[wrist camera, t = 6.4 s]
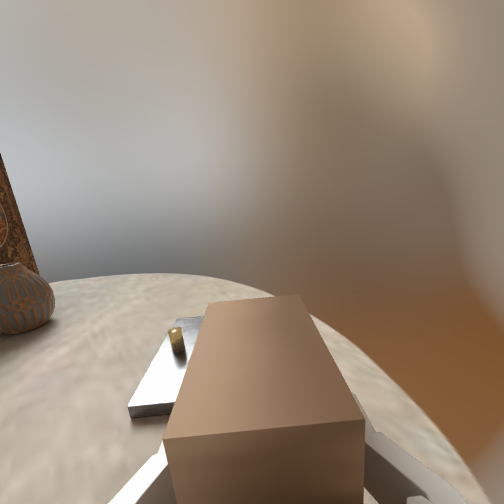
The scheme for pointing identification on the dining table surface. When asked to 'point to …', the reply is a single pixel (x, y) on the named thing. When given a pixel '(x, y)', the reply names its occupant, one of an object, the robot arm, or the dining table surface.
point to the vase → (23, 299)
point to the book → (12, 228)
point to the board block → (264, 412)
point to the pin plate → (166, 370)
